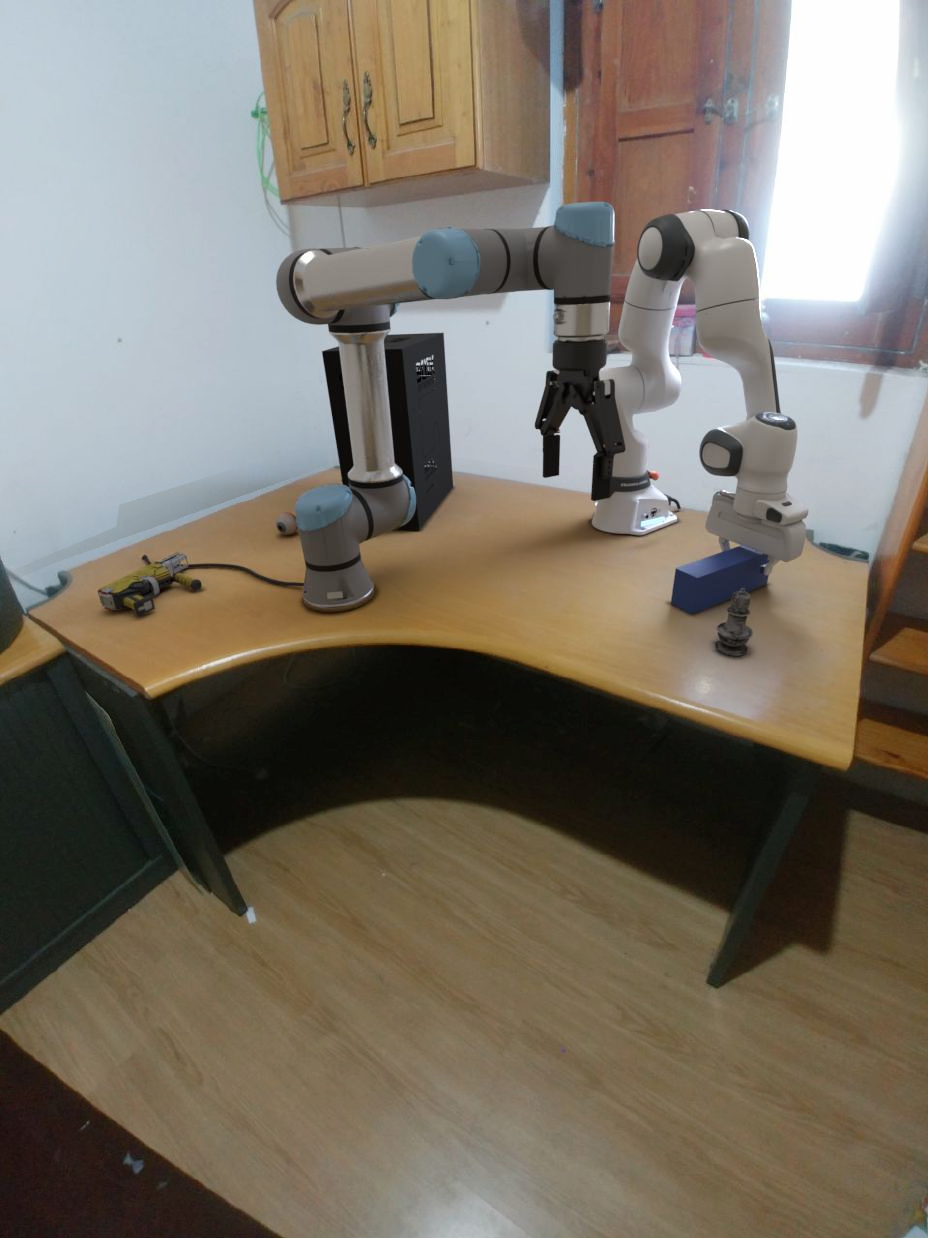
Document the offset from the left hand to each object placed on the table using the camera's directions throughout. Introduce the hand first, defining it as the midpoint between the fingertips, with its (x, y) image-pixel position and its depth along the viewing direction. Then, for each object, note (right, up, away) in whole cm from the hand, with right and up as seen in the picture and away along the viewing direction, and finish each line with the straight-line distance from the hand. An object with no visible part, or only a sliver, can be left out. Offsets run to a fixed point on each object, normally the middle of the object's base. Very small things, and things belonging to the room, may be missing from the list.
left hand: (574, 487), depth 94 cm
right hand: (+41, -10, +30) cm, 52 cm away
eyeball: (-65, +2, +71) cm, 96 cm away
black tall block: (-35, +13, +86) cm, 94 cm away
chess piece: (+30, -26, +12) cm, 41 cm away
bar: (+35, -15, +30) cm, 49 cm away
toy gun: (-85, -15, +44) cm, 97 cm away
